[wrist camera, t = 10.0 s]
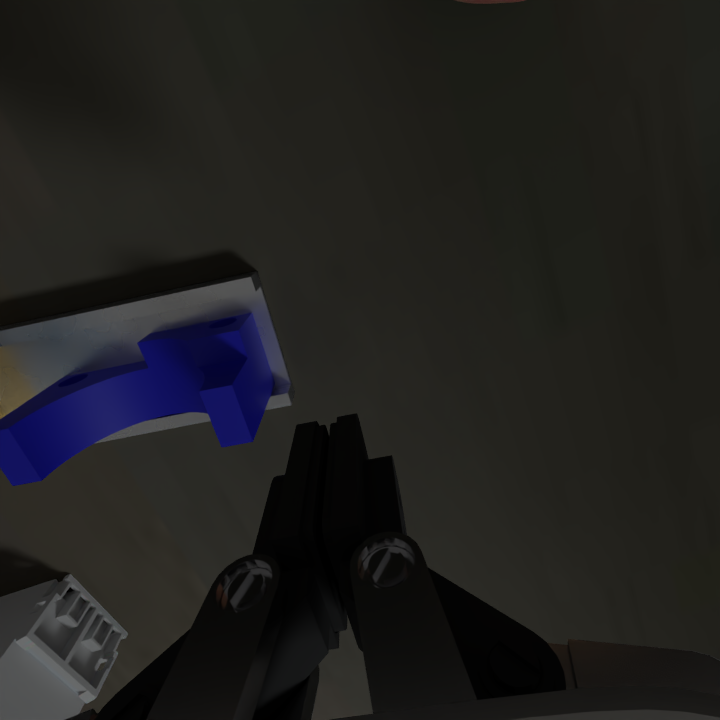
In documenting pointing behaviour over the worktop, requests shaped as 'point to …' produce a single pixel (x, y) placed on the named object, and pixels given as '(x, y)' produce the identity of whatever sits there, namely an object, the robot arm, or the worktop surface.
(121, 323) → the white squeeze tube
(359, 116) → the worktop surface
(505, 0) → the apple
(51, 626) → the circuit breaker
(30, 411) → the blue plastic bracket
